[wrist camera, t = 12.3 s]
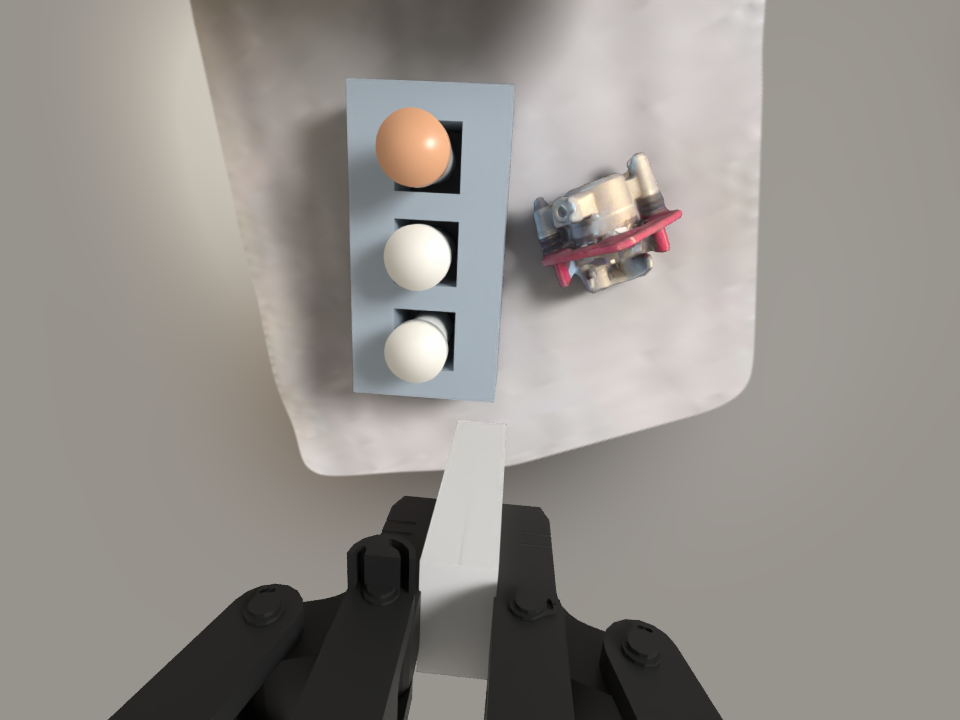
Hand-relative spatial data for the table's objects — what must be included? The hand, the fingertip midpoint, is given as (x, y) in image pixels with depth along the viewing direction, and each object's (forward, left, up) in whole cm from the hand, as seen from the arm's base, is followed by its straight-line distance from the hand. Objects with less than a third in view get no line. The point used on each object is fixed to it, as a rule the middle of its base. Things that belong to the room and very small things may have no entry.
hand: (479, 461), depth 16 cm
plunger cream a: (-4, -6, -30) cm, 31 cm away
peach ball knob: (-11, -6, -28) cm, 31 cm away
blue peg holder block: (-4, -6, -32) cm, 33 cm away
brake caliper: (-6, +8, -33) cm, 34 cm away
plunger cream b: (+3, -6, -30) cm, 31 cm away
